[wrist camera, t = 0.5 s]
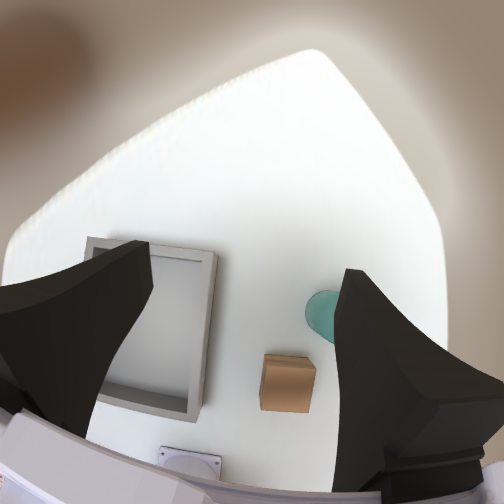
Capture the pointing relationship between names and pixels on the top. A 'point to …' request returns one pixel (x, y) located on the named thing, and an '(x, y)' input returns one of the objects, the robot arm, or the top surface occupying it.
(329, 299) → the teal cylinder
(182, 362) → the tote
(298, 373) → the walnut cube
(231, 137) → the top surface
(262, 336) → the top surface
